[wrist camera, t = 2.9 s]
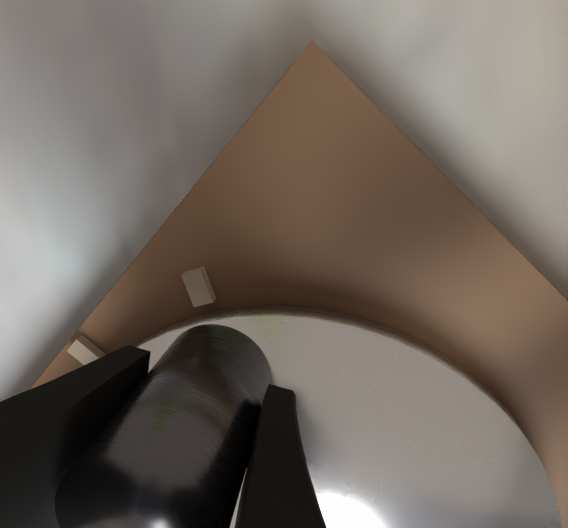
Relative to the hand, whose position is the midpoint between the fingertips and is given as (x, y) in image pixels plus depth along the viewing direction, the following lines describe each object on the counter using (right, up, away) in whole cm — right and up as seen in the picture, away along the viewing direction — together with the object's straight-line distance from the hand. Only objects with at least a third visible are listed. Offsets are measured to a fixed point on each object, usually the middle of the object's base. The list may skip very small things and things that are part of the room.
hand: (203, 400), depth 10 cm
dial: (+2, -5, +4) cm, 7 cm away
